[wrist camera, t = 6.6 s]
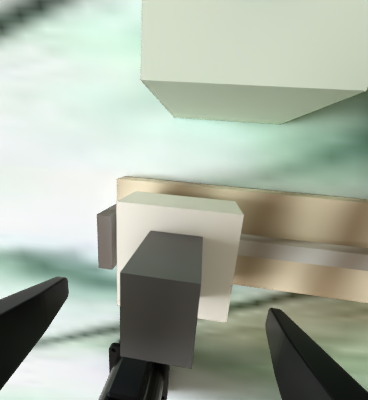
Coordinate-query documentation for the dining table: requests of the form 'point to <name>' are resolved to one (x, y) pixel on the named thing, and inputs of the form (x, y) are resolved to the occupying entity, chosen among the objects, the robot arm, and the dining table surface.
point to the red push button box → (253, 56)
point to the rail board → (275, 237)
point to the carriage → (173, 271)
